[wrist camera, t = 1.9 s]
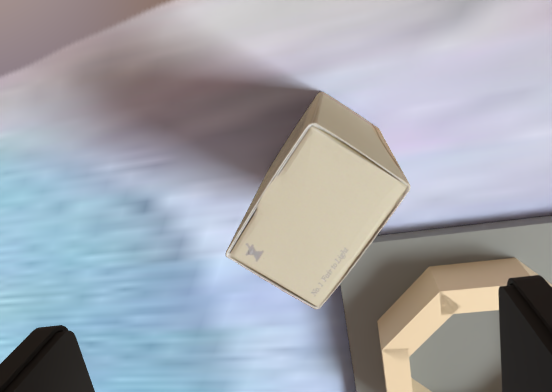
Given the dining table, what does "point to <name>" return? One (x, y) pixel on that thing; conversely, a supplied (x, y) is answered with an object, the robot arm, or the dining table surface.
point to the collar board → (460, 332)
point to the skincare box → (320, 203)
